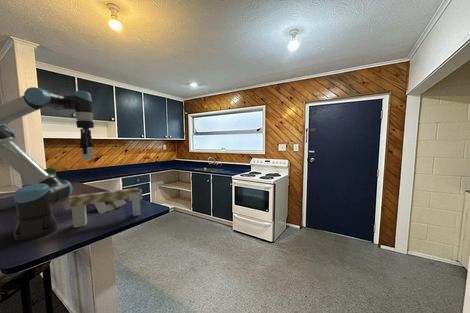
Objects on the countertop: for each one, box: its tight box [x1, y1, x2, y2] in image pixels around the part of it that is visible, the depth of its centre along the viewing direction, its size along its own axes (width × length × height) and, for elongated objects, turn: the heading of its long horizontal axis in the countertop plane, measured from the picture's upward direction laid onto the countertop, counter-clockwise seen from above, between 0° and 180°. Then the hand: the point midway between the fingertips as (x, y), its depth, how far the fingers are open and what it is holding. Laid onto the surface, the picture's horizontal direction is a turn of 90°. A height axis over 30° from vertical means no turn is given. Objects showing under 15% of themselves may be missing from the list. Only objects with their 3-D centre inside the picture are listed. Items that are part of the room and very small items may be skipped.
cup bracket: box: [128, 188, 143, 217], centre depth 116 cm, size 7×7×14 cm
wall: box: [93, 199, 128, 215], centre depth 130 cm, size 16×9×15 cm
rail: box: [68, 187, 139, 208], centre depth 108 cm, size 32×4×5 cm, turn 119°
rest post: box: [71, 205, 88, 229], centre depth 103 cm, size 5×5×11 cm
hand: (88, 159), depth 108 cm, fingers open, 13 cm apart
